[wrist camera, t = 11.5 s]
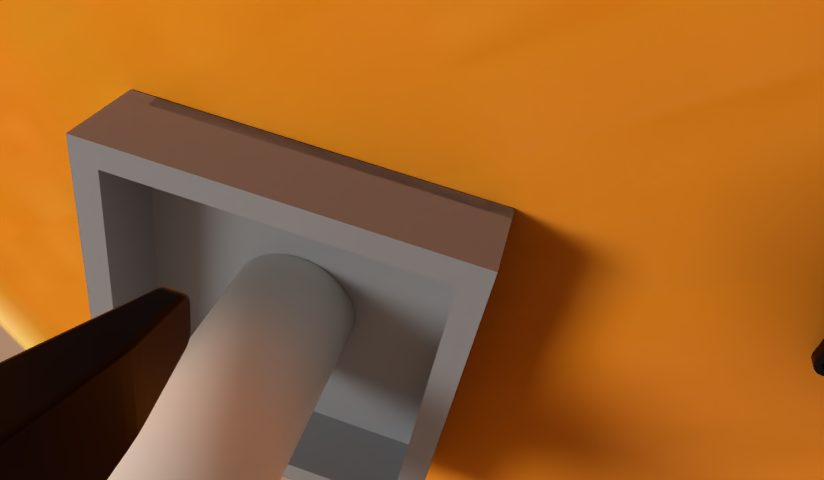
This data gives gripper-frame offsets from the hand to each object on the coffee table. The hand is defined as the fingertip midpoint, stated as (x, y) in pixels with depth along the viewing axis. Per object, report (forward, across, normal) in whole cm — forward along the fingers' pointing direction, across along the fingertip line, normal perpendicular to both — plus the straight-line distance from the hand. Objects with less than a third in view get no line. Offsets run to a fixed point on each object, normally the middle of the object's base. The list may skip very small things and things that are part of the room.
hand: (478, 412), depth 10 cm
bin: (+13, +7, +12) cm, 19 cm away
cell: (+12, +7, +12) cm, 19 cm away
